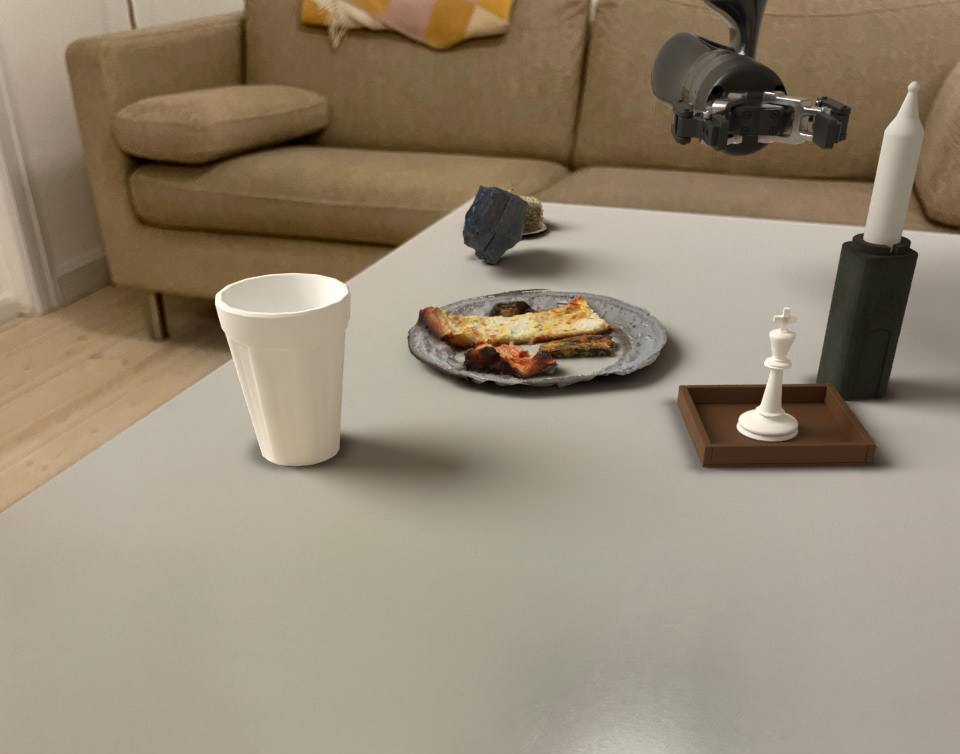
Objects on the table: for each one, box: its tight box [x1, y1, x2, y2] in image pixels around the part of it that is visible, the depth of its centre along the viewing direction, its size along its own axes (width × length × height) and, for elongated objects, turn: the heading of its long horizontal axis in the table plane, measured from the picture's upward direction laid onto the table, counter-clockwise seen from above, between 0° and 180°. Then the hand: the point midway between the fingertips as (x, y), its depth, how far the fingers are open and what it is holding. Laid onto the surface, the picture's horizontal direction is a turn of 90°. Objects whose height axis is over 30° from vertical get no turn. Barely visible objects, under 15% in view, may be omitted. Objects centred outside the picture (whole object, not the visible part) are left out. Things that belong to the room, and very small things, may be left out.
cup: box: [214, 272, 352, 467], centre depth 81 cm, size 10×10×13 cm
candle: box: [815, 80, 925, 402], centre depth 86 cm, size 5×5×25 cm
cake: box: [507, 187, 548, 236], centre depth 137 cm, size 10×10×5 cm
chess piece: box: [737, 306, 798, 442], centre depth 83 cm, size 5×5×10 cm
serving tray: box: [676, 383, 877, 468], centre depth 85 cm, size 13×12×2 cm
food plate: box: [406, 288, 668, 388], centre depth 101 cm, size 25×23×4 cm
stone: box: [461, 184, 528, 265], centre depth 124 cm, size 14×6×10 cm, turn 170°
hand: (777, 136), depth 83 cm, fingers open, 8 cm apart
